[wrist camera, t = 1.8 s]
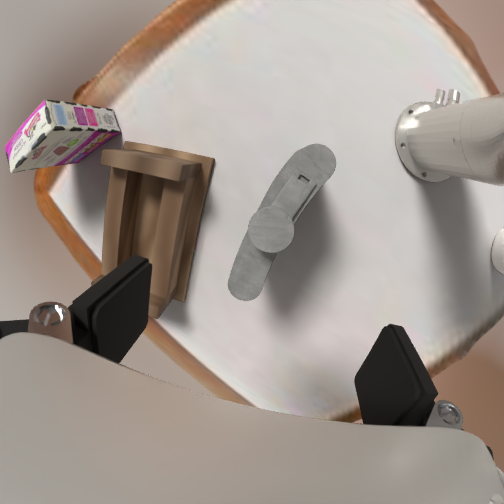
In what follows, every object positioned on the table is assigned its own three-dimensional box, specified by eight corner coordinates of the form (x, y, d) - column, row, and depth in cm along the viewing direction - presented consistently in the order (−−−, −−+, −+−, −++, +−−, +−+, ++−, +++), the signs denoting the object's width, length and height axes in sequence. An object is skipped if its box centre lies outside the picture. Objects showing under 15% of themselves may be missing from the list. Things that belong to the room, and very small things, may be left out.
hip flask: (264, 248, 43) (248, 320, 25) (241, 235, 43) (207, 298, 24) (318, 156, 38) (349, 156, 19) (293, 142, 38) (301, 128, 19)
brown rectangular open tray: (111, 273, 48) (84, 294, 40) (127, 141, 40) (95, 141, 32) (185, 299, 48) (166, 327, 40) (214, 158, 40) (195, 159, 31)
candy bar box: (113, 107, 38) (45, 96, 23) (122, 131, 40) (53, 129, 24) (69, 141, 41) (2, 146, 25) (77, 164, 42) (9, 175, 27)
